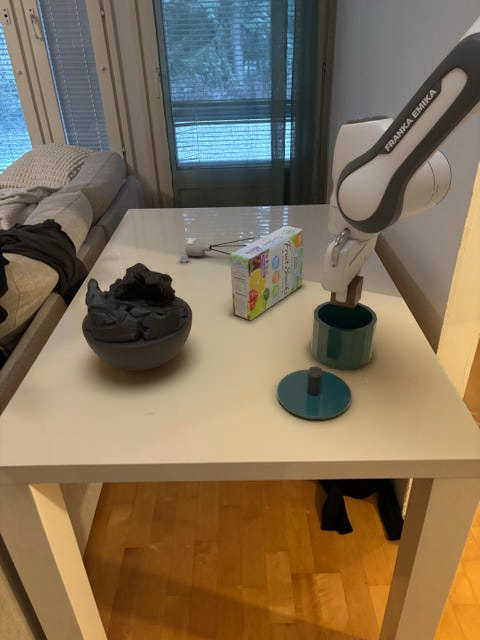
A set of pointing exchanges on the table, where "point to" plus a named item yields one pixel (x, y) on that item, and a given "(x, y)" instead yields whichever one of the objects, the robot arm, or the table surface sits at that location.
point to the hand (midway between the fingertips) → (346, 293)
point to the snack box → (266, 271)
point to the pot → (343, 335)
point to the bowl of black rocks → (136, 320)
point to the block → (350, 293)
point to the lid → (314, 393)
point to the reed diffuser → (202, 248)
